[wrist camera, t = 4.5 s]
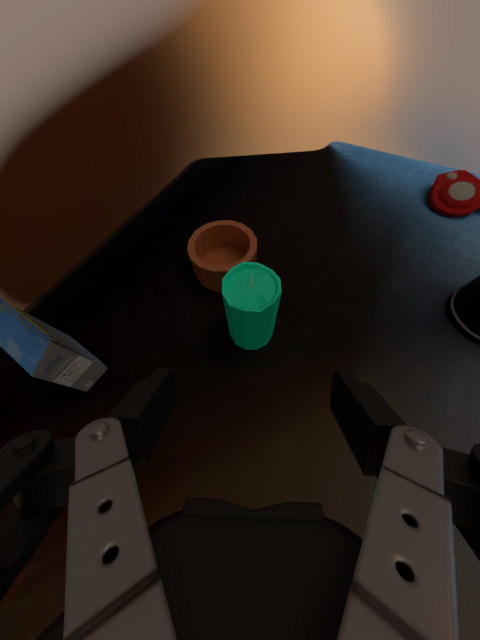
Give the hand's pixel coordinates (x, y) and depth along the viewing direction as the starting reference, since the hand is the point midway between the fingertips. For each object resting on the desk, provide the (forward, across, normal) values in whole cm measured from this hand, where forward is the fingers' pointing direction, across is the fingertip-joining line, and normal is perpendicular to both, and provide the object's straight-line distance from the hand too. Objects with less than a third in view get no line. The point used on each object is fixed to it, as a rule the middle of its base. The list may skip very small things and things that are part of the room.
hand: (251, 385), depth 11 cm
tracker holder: (+38, -38, -14) cm, 55 cm away
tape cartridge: (+16, +23, +8) cm, 30 cm away
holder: (+28, +4, -4) cm, 28 cm away
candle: (+20, 0, +4) cm, 20 cm away
